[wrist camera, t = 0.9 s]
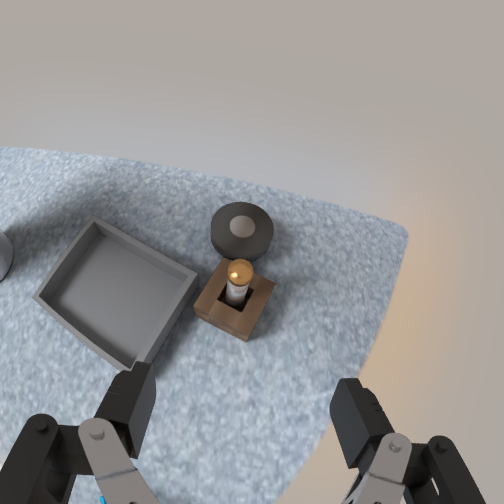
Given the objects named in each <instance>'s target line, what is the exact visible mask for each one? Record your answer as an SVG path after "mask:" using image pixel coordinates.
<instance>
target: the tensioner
mask: <svg viewBox="0 0 504 504" xmlns="http://www.w3.org/2000/svg"><path fill="white" fill-rule="evenodd" d="M273 231H274V229H273V223H272V220H271V219H270V217H269V215H268V214H267V213H266V212H265V211H264V210H263V209H261V208H260V207H258V206H256V205H254V204H251V203H246V202H234V203H230V204H227V205H225V206H223V207H222V208H220V209H219V210H218V211H217V212H216V213H215V215H214V216H213V218H212V221H211V241H212V244H213V246H214V248H215V249H216V250H217V252H218V253H219V254H221V255H222V256H223V257H225V258H227V259H229V260H232V261H234V260H236V259H244V260H247V261H248V262H249V261H253V260H255V259H258V258H259V257H261V256H262V255H263V254H264V253H265V252H266V251H267V249H268V248H269V245H270V242H271V240H272V237H273ZM225 258H223V259H222V260H221V262H220V263H219V265H218V267H217V268H216V270H215V271H214V273H213V275H212V276H211V278H210V280H209V281H208V283H207V284H206V286H205V288H204V289H203V291H202V293H201V294H200V296H199V297H198V299H197V301H196V302H195V304H194V311H195V316H197V317H199V318H201V319H202V320H204V321H206V322H208V323H210V324H212V325H214V326H215V327H217V328H219V329H221V330H223V331H225V332H227V333H229V334H231V335H233V336H235V337H237V338H239V339H241V340H243V341H245V342H246V341H247V339H248V337H249V335H250V333H251V331H252V329H253V328H254V326H255V324H256V322H257V320H258V318H259V316H260V314H261V312H262V310H263V308H264V306H265V304H266V302H267V300H268V298H269V296H270V294H271V292H272V290H273V288H274V286H275V284H276V283H274V282H272V281H270V280H268V279H266V278H264V277H261V276H259V275H257V274H255V273H253V276H252V279H251V281H250V283H249V285H248V289H247V292H246V295H245V299H244V302H243V305H242V308H241V310H240V311H237V310H235V309H233V308H232V307H230V306H228V305H226V304H225V298H226V289H227V281H228V277H227V273H228V266H229V264H230V263H231V261H229V260H227V259H225Z"/></svg>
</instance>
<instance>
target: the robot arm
mask: <svg viewBox="0 0 504 504" xmlns="http://www.w3.org/2000/svg"><path fill="white" fill-rule="evenodd" d="M13 253H14V251H13V245H12V242H11V241H10V240H9V238H8V237H7V236H6V235H5V234H4V233H3V232H2V230H1V229H0V281H1V280H2V279H3V278H4V276H5V275H6V274H7V272H8V270H9V268H10V266H11V263H12V260H13ZM155 399H156V381H155V368H154V364H152V363H146V362H141V361H136V362H135V364H134V366H133V368H132V370H131V371H127V370H123V371H121V372H120V373H119V374H117V375H116V376H115V377H114V379H113V381H112V383H111V386H110V387H109V389H108V391H107V393H106V395H105V396H104V398H103V400H102V402H101V404H100V406H99V408H98V410H97V412H96V414H95V416H94V418H91V419H87V420H85V421H84V422H83V423H81V425H80V426H68V425H58V424H57V422H56V420H55V419H54V418H53V417H52V416H50V415H47V414H36V415H33V416H32V417H30V418H29V419H28V420H27V422H26V424H25V426H24V427H23V429H22V431H21V433H20V434H19V436H18V438H17V440H16V442H15V444H14V445H13V447H12V449H11V451H10V453H9V455H8V457H7V459H6V461H5V463H4V465H3V467H2V469H1V471H0V504H68V501H69V498H70V495H71V491H72V488H73V485H74V482H75V479H76V476H77V474H79V475H95V479H96V482H97V484H98V486H99V489H100V491H101V493H102V495H103V497H104V499H105V501H106V503H107V504H160V503H159V502H158V500H157V499H156V497H155V496H154V494H153V493H152V491H151V490H150V488H149V487H148V485H147V483H146V482H145V480H144V478H143V477H142V475H141V474H140V472H139V471H138V469H137V468H135V467H134V465H133V463H132V462H131V460H130V458H134V459H138V456H139V452H140V449H141V446H142V442H143V439H144V436H145V432H146V429H147V426H148V423H149V419H150V416H151V413H152V410H153V407H154V404H155ZM330 416H331V419H332V422H333V425H334V427H335V430H336V433H337V436H338V439H339V442H340V445H341V448H342V451H343V454H344V457H345V460H346V463H347V466H348V469H351V468H358V469H359V473H358V474H357V476H356V478H355V479H354V482H353V483H352V485H351V487H350V489H349V491H348V493H347V494H346V496H345V498H344V500H343V502H342V503H341V504H400V501H401V498H402V495H404V499H405V501H406V504H486V503H485V501H484V499H483V497H482V495H481V493H480V491H479V489H478V487H477V485H476V483H475V482H474V480H473V478H472V476H471V474H470V472H469V470H468V468H467V466H466V465H465V463H464V461H463V459H462V457H461V456H460V454H459V452H458V450H457V449H456V447H455V445H454V443H453V442H452V441H451V440H450V439H449V438H447V437H445V436H434V437H432V438H431V439H430V441H429V442H428V443H427V444H419V443H417V444H416V443H411V442H410V440H409V439H408V438H407V437H406V436H404V435H402V434H399V433H395V431H394V430H393V428H392V426H391V424H390V422H389V420H388V418H387V417H386V415H385V413H384V411H382V407H381V406H380V404H379V402H378V400H377V398H376V396H375V395H374V394H373V393H372V392H371V391H370V390H369V389H367V388H363V387H362V385H361V383H360V381H359V379H358V378H342V379H340V380H339V382H338V385H337V387H336V390H335V392H334V395H333V398H332V400H331V403H330ZM432 478H433V479H434V481H435V483H436V485H437V488H438V490H439V496H438V494H437V492H436V489H435V487H434V485H433V482H432V480H431V479H432Z"/></svg>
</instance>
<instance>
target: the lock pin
mask: <svg viewBox="0 0 504 504" xmlns="http://www.w3.org/2000/svg"><path fill="white" fill-rule="evenodd" d="M252 276H253V267H252V265H251V263H250V262H248V261H247V260H244V259H236V260H234V261H232V262H231V263H230V264H229V266H228V273H227V277H228V281H227V289H226V298H225V304H226V305H228V306H230V307H232V308H233V309H235V310H237V311H240V310H241V308H242V305H243V302H244V299H245V295H246V292H247V289H248V285H249V283H250V281H251V279H252Z"/></svg>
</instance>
